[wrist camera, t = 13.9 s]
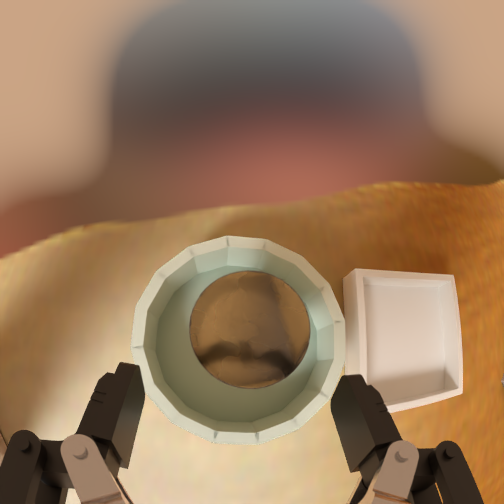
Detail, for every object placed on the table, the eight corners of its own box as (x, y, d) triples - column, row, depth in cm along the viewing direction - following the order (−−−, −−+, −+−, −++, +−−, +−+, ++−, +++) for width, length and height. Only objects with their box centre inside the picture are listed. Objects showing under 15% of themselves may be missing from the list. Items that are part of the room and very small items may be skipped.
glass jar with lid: (200, 377, 18) (184, 384, 10) (205, 307, 20) (195, 266, 12) (273, 381, 18) (309, 389, 10) (275, 312, 20) (309, 274, 13)
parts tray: (343, 414, 18) (358, 418, 16) (342, 278, 23) (355, 268, 20) (444, 394, 19) (462, 393, 17) (438, 283, 24) (453, 275, 21)
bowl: (142, 419, 16) (125, 429, 13) (160, 252, 22) (149, 229, 18) (321, 428, 18) (342, 438, 14) (322, 266, 23) (340, 245, 19)
